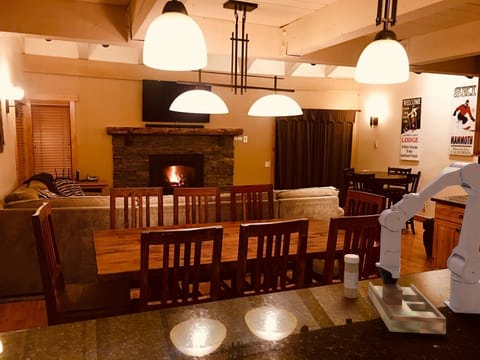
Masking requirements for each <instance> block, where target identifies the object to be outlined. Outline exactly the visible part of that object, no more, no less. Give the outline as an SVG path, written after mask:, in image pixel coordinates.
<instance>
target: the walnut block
mask: <svg viewBox="0 0 480 360" xmlns="http://www.w3.org/2000/svg"><path fill="white" fill-rule="evenodd" d="M382 286H383V290H382V299H383V301H384V302H385V304H386V305H402V298H403V290H402V288H401V287H402V286H400V285H399V284H397V283H396V284H383V283H382Z"/></svg>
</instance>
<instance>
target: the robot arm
mask: <svg viewBox="0 0 480 360" xmlns="http://www.w3.org/2000/svg"><path fill="white" fill-rule="evenodd" d="M452 186H460V187H461V188H462V190H463V191H464V192H466V194H467V200H466V203H465V209H464V214H463V219H462V224H461V229H460V234H459V239H458V243H457V245H456V246H455V247H454V248H452V250H451V251H452V252H451V254H450V256H449V257H448V259H447V262H446V266H447V269H448V271H450V279H449V282H450V283H449V298H448V300H443V303H444V304H445V305H446V306H448V308H449V309H451V311H453V312H454V313H462V314H463V313H464V314H479V315H480V163H477V162H463V161H455V162H452V163H450V164H449V166H446V167H444V168H443V170H442V171H441V172H440V173H439V174H437V175H436V176H435V177H434V178H433V179H432V180H430V181H429V182H428V183H427V184H425V186H424V187H422V188H421V189H420V190H419V191H417V193H414V192H410V193H408V194H407V193H405V194H404V195H402V199H401V200H400V201H398V202H397V203H395V204H392V205H391V206H390V208H389V209H384V210H383V211H382V212H381V213H380V215H379V217H378V222H379V224H380V225H381V227H380V228H381V230H380V250H379V251H380V252H379V253H380V254H379V262H376V263H375V266H376V267H378V272H379V273H380V276H381V280H382V285H383V284H397V282H398V280H399V279H401V275H402V273H401V267H402V266H401V265H402V264H401V253H402V251H401V250H402V248H401V247H402V229H404V228H405V226H406V222H408V221H409V220H410V219H411V218H413V217H414V216H415V215H417V214H418V213H419V212H420V211H422V210H423V209H424V208H425V203H426V202H427V201H428V200H430V199H431V198H432V197H434V196H436V195H438V193H441V191H443V190H444V189H446V188H447V187H452Z"/></svg>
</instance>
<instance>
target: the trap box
mask: <svg viewBox="0 0 480 360" xmlns="http://www.w3.org/2000/svg"><path fill="white" fill-rule="evenodd" d="M409 286H410V287H406V286H400V287H401V288H402V290H403V298H402V305H386V304H385V302H384V301H383V299H382V290H383V285H374V284H373V283H372V282H371V281H368V293H367V295H368V297H369V298H370V300H371V302H372V304H373V305H374V307H375V309H376V311H377V312H378V314H379V315H380V317H381V319H382V321H383V322H384V324H385V326H386V328H387V329H388V331H389V332H392V333H393V332H397V333H414V334H415V333H417V334H431V335H432V334H433V335H434V334H435V335H446V332H447V331H446V330H447V318H446V317H445V316H444V315H443V313H441V312H440V310H438V308H437V307H436V306H435V305H434V304H433V303H432V302H431V301H430V300H429V299H428V298H427V296H425V295H424V294H423V293H422V292H421V291H420V289H419V288H418V287H417V286H416V285H415V284H414V283H410V285H409Z"/></svg>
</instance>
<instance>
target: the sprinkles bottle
mask: <svg viewBox="0 0 480 360" xmlns="http://www.w3.org/2000/svg"><path fill="white" fill-rule="evenodd" d="M343 258H344V259H343V260H344V274H343V275H344V276H343V286H344V287H343V296H344V297H345V298H347V299H356V298H358V297H359V292H358V288H359V263H360V257H359V255H357V254H354V253H353V254H352V253H351V254H348V253H347V254H345V255H344V257H343Z"/></svg>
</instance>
